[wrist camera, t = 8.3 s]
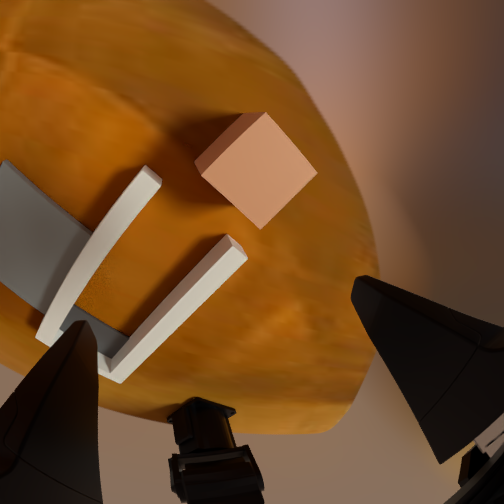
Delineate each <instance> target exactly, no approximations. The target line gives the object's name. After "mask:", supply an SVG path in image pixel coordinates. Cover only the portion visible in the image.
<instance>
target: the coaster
mask: <svg viewBox="0 0 504 504" xmlns="http://www.w3.org/2000/svg"><path fill="white" fill-rule="evenodd" d="M92 234H93V232H91V231H90V230H89V229H88V228H86V227H85V226H84V225H82V224H81V223H80V222H79V221H77V220H76V219H75V218H74V217H72V216H71V215H70V214H69V213H67V212H66V211H65V210H64V209H63V208H61V207H60V206H59V205H58V204H56V203H55V202H54V201H53V200H52V199H51V198H49V197H48V196H47V195H46V194H45V193H43V192H42V191H41V190H40V189H39V188H38V187H37V186H35V185H34V184H33V183H32V182H31V181H30V180H29V179H28V178H26V177H25V176H24V175H23V174H22V173H21V172H20V171H19V170H18V169H17V168H16V167H15V166H13V165H12V164H11V163H10V162H9V161H8V160H5V161H3V162H2V165H1V167H0V281H1V282H2V283H3V284H4V285H6V286H7V287H8V288H9V289H11V290H12V291H13V292H14V293H16V294H17V295H18V296H20V297H21V298H22V299H23V300H25V301H26V302H28V303H29V304H30V305H32V306H33V307H34V308H36V309H37V310H39V311H40V312H42V313H43V314H44V315H45V314H46V312H47V310H48V308H49V306H50V304H51V302H52V301H53V299H54V297H55V295H56V293H57V291H58V289H59V288H60V286H61V284H62V282H63V281H64V279H65V277H66V275H67V274H68V272H69V270H70V269H71V267H72V265H73V264H74V262H75V260H76V259H77V257H78V256H79V254H80V252H81V251H82V249H83V248H84V246H85V245H86V243H87V242H88V240H89V239H90V237H91V235H92Z"/></svg>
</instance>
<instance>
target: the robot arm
mask: <svg viewBox="0 0 504 504" xmlns="http://www.w3.org/2000/svg"><path fill="white" fill-rule="evenodd" d="M351 301H352V304H353V305H354V307H355V310H356V312H357V314H358V316H359V318H360V320H361V322H362V324H363V326H364V328H365V330H366V332H367V334H368V336H369V337H370V339H371V341H372V342H373V344H374V346H375V347H376V349H377V351H378V352H379V354H380V356H381V357H382V359H383V361H384V362H385V364H386V366H387V367H388V369H389V371H390V372H391V374H392V376H393V378H394V379H395V381H396V383H397V385H398V386H399V388H400V390H401V392H402V393H403V395H404V397H405V399H406V401H407V403H408V404H409V406H410V408H411V410H412V412H413V413H414V415H415V417H416V419H417V421H418V422H419V425H420V427H421V429H422V431H423V433H424V435H425V436H426V438H427V440H428V442H429V445H430V447H431V448H432V451H433V452H434V455H435V457H436V459H437V461H438V462H439V464H442V463H444V462H445V461H446V460H448V459H449V458H450V457H452V456H453V455H455V454H456V453H458V452H459V451H460V450H461V449H463V448H464V447H465V446H467V445H468V444H469V443H470V442H472V441H474V443H475V445H474V446H473V447H472V448H471V449H470V450H469V451H468V452H467V453H466V454H465V455H464V456H463V457H462V463H461V468H460V474H459V480H458V484H459V485H460V487H461V489H460V490H458V491H457V493H455V494H454V495H453V496H452V497H451V498H450V499H448V500H447V501H446V502H445V503H444V504H504V327H501V326H498V325H495V324H492V323H489V322H486V321H483V320H480V319H477V318H474V317H472V316H469V315H466V314H463V313H461V312H458V311H456V310H453V309H451V308H448V307H446V306H444V305H441V304H439V303H436V302H434V301H431V300H429V299H426V298H423V297H421V296H419V295H416V294H414V293H411V292H408V291H406V290H404V289H401V288H399V287H396V286H393V285H391V284H388V283H386V282H383V281H381V280H378V279H375V278H373V277H370V276H368V275H363V276H358V277H356V279H355V281H354V285H353V289H352V293H351ZM98 390H99V383H98V345H97V340H96V337H95V335H94V333H93V331H92V328H91V326H90V324H89V322H88V321H87V320H76V321H74V322H73V323H72V324H71V325H70V326H69V328H68V329H67V330H66V331H65V332H64V333H63V334H62V335H61V336H60V337H59V338H58V339H57V341H56V342H55V343H54V344H53V345H52V346H51V347H50V348H49V350H48V351H47V352H46V353H45V354H44V355H43V356H42V358H41V359H40V360H39V361H38V362H37V363H36V365H35V366H34V367H33V368H32V369H31V370H30V372H29V373H28V374H27V375H26V377H25V378H24V379H23V380H22V381H21V383H20V384H19V385H18V386H17V388H16V389H15V392H13V393H12V394H11V395H10V397H9V398H8V399H7V401H6V402H5V403H4V404H3V405H2V407H1V408H0V504H103V500H102V492H101V483H100V471H99V456H98ZM235 413H236V410H235V409H233V408H230V407H227V406H223V405H220V404H217V403H214V402H210V401H207V400H204V399H201V398H195V399H193V400H192V401H190V402H189V403H188V404H186V405H185V406H183V407H182V408H181V409H179V410H178V411H176V412H175V413H174V414H172V415H171V416H169V417H168V418H167V422H168V423H171V424H173V429H174V436H175V442H176V444H177V445H179V451H180V454H172V458H170V459H168V462H169V468H170V479H171V490H172V492H174V493H176V494H177V495H178V498H180V500H181V503H187V504H264V499H263V496H262V493H261V491H264V482H263V478H262V475H261V472H260V470H259V467H258V465H257V464H256V461H255V459H254V457H253V455H252V453H251V450H250V448H249V446H248V445H243V446H241V447H236V443H235V440H234V437H233V434H232V430H231V427H230V423H229V420H228V418H229V417H231V416H233V415H234V414H235ZM183 469H185V470H183Z"/></svg>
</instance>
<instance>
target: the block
mask: <svg viewBox="0 0 504 504" xmlns="http://www.w3.org/2000/svg"><path fill="white" fill-rule="evenodd" d="M194 163H195V165H196V167H197V169H198V171H199V173H200V174H201V176H202V177H203V178H205V179H206V180H207V181H208V182H209V183H210V184H211V185H212V186H213V187H215V188H216V189H217V190H218V191H219V192H220V193H221V194H222V195H223V196H224V197H226V198H227V199H228V200H229V201H230V202H231V203H232V204H233V205H234V206H235V207H237V208H238V209H239V210H240V211H241V212H242V213H243V214H244V215H245V216H246V217H247V218H249V219H250V220H251V221H252V222H253V223H254V224H255V225H256V226H257V227H258V228H259V229H260V230H261V229H262V228H263V227H264V226H265V225H266V224H267V223H268V222H269V221H270V220H271V219H272V218H273V217H274V216H275V215H276V214H277V213H278V212H279V211H280V210H281V209H282V208H283V207H284V206H285V205H286V204H287V203H288V202H289V201H290V200H291V199H292V198H293V197H294V196H295V195H296V194H297V193H298V192H299V191H300V190H301V189H302V188H303V187H304V186H305V185H306V184H307V183H308V182H309V181H310V180H311V179H312V178H313V177H314V176H315V175H316V174H317V172H316V171H315V169H314V168H313V167H312V166H311V164H310V163H309V162H308V161H307V159H306V158H305V157H304V156H303V155H302V153H301V152H300V151H299V150H298V149H297V147H296V146H295V145H294V144H293V143H292V141H291V140H290V139H289V138H288V137H287V136H286V134H285V133H284V132H283V131H282V130H281V129H280V128H279V126H278V125H277V124H276V123H275V122H274V121H273V120H272V119H271V117H270V116H269V115H268V114H267V113H266V112H258V113H243V114H242V115H241V116H240V117H239V118H238V119H237V120H236V121H235V122H233V123H232V124H231V125H230V126H229V127H228V128H227V129H226V130H225V131H224V132H223V133H222V134H221V135H220V136H219V137H218V138H217V139H216V140H215V141H214V142H213V143H212V144H211V145H210V146H209V147H208V148H207V149H206V150H205V151H204V152H203V153H202V154H201V155H200V156H199V157H198V158H197V159H196V160H195V161H194Z"/></svg>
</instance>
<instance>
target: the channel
mask: <svg viewBox="0 0 504 504" xmlns="http://www.w3.org/2000/svg"><path fill="white" fill-rule="evenodd" d="M161 184H162V178H160V177H159V176H158V175H157V174H156V173H155V172H153V171H152V170H151V169H150V168H149V167H148V166H146V165H144V167H143V168H142V169H141V170H140V171H139V172H138V174H137V175H136V176H135V177H134V179H133V180H132V181H131V182H130V183H129V185H128V186H127V187H126V189H125V190H124V191H123V192H122V194H121V195H120V196H119V198H118V199H117V200H116V201H115V203H114V204H113V205H112V207H111V208H110V210H109V211H108V212H107V214H106V215H105V216H104V218H103V219H102V221H101V222H100V223H99V225H98V226H97V228H96V229H95V231H94V232H93V234H92V235H91V237H90V239H89V240H88V242H87V243H86V245H85V246H84V248H83V249H82V251H81V252H80V254H79V256H78V257H77V259H76V260H75V262H74V264H73V265H72V267H71V269H70V270H69V272H68V274H67V275H66V277H65V279H64V281H63V282H62V284H61V286H60V288H59V289H58V291H57V293H56V295H55V297H54V299H53V301H52V302H51V304H50V306H49V308H48V310H47V312H46V314H45V316H44V318H43V320H42V322H41V324H40V327H39V329H38V331H37V334H36V336H35V338H37V339H38V340H40V341H41V342H43V343H44V344H46V345H48V346H49V347H51V346H52V345H53V344H54V343H55V342H56V341H57V339H58V338H59V337H60V336H61V335H62V334H63V333H64V332H65V331H66V330H67V329H68V328H69V326H70V325H71V324H72V323H73V322H74V321H76V320H87V321H88V322H89V324H90V326H91V328H92V331H93V333H94V335H95V337H96V340H97V345H98V374H100V375H102V376H104V377H107V378H109V379H111V380H113V381H115V382H117V383H120V384H121V383H122V382H123V381H124V380H125V379H126V378H127V377H128V376H129V375H130V374H131V373H132V372H133V371H134V370H135V369H136V368H137V367H138V366H139V365H140V364H141V363H142V362H143V361H144V360H145V359H146V358H147V357H148V356H149V355H150V354H151V353H152V352H153V351H155V350H156V349H157V348H158V347H159V346H160V345H161V344H162V343H163V342H164V341H165V340H166V339H167V338H168V337H169V336H170V335H171V334H172V333H173V332H174V331H175V330H176V329H177V328H178V327H179V326H180V325H181V324H182V323H183V322H184V321H185V320H186V319H187V318H188V317H189V316H190V315H191V314H192V313H193V312H194V311H195V310H196V309H197V308H198V307H199V306H200V305H201V304H202V303H203V302H204V301H205V300H206V299H207V298H208V297H209V296H210V295H212V294H213V293H214V292H215V291H216V290H217V289H218V288H219V287H220V286H221V285H222V284H223V283H224V282H225V281H226V280H227V279H228V278H229V277H230V276H231V275H232V274H233V273H234V272H235V271H236V270H237V269H238V268H239V267H240V266H241V265H242V264H243V263H244V262H245V261H246V260H247V259H248V257H247V256H246V254H245V252H244V250H243V248H242V247H241V245H240V244H238V243H237V242H236V241H235V240H234V239H232V238H231V237H230V236H229V235H228V234H226V235H225V236H224V237H223V238H222V239H221V240H220V241H219V242H218V243H217V244H216V245H215V246H214V247H213V248H212V249H211V250H210V251H209V252H208V253H207V254H206V255H205V257H204V258H203V259H202V260H201V261H200V262H199V263H198V264H197V265H196V266H195V267H194V268H193V269H192V270H191V271H190V272H189V273H188V274H187V275H186V277H185V278H184V279H183V280H182V281H181V282H180V283H179V284H178V285H177V286H176V287H175V288H174V289H173V290H172V291H171V293H170V294H169V295H168V296H167V297H166V298H165V299H164V300H163V301H162V302H161V303H160V304H159V306H158V307H157V308H156V309H155V310H154V311H153V312H152V313H151V314H150V315H149V316H148V318H147V319H146V320H145V321H144V322H143V323H142V324H141V325H140V326H139V327H138V329H137V330H136V331H135V332H134V333H133V334H132V335H131V336H130V337H128V336H126V335H124V334H122V333H121V332H119V331H117V330H115V329H114V328H112V327H110V326H108V325H107V324H105V323H103V322H102V321H100V320H98V319H97V318H95V317H94V316H92V315H90V314H89V313H87V312H86V311H84V310H82V309H81V308H79V307H78V306H76V305H75V304H74V303H75V301H76V300H77V298H78V296H79V295H80V293H81V292H82V290H83V289H84V287H85V286H86V284H87V283H88V281H89V280H90V278H91V277H92V275H93V274H94V272H95V271H96V269H97V268H98V266H99V265H100V264H101V262H102V261H103V259H104V258H105V256H106V255H107V254H108V252H109V251H110V250H111V248H112V247H113V245H114V244H115V243H116V241H117V240H118V239H119V237H120V236H121V235H122V234H123V232H124V231H125V230H126V228H127V227H128V226H129V224H130V223H131V222H132V221H133V219H134V218H135V217H136V216H137V214H138V213H139V212H140V211H141V210H142V208H143V207H144V206H145V205H146V203H147V202H148V201H149V200H150V199H151V197H152V196H153V195H154V194H155V193H156V192H157V190H158V189H159V188H160V187H161Z"/></svg>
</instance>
